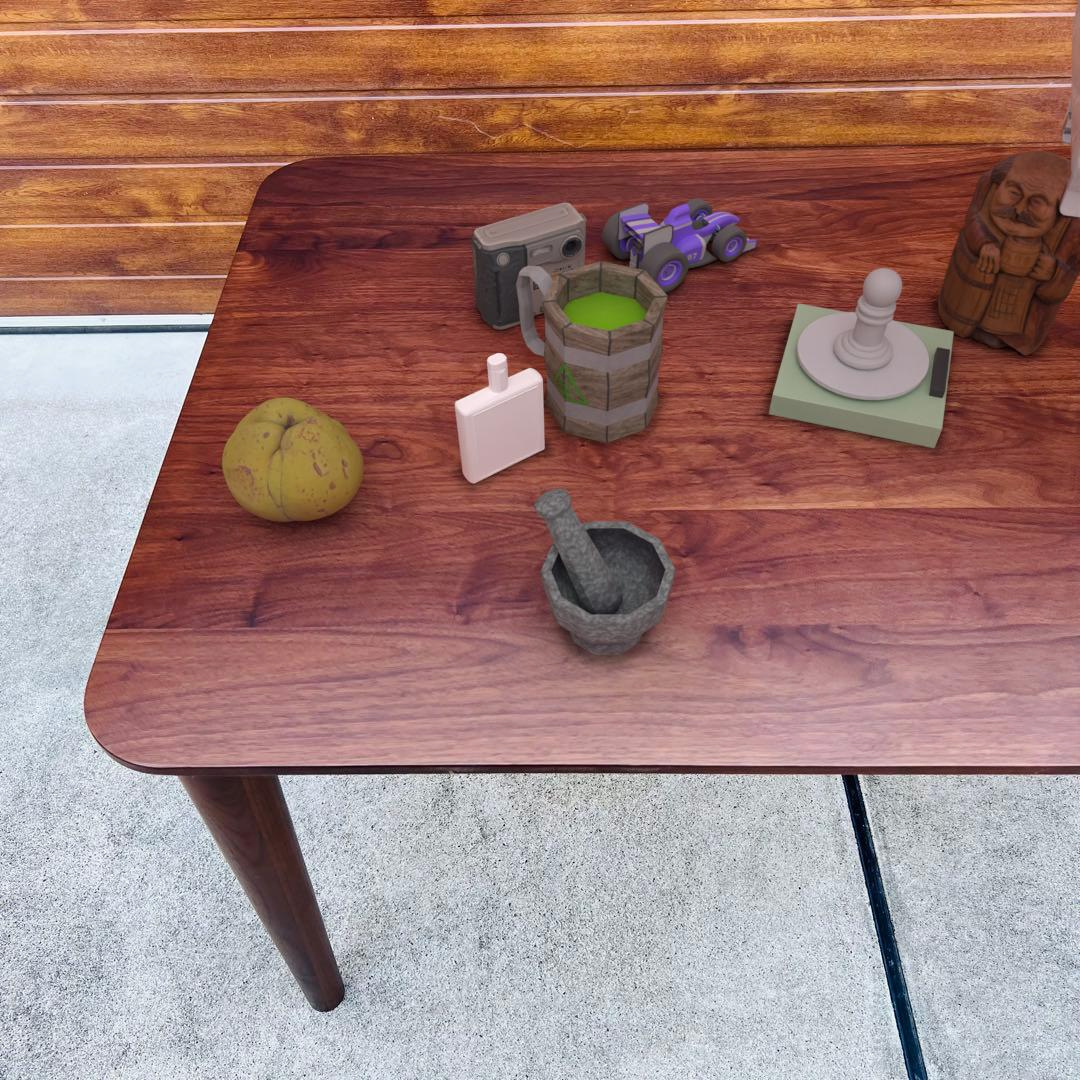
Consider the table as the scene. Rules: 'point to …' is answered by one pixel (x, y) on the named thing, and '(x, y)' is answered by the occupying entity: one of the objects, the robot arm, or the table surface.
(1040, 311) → the wooden figurine
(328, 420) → the fruit
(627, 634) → the mortar and pestle
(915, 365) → the scale
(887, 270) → the chess piece
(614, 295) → the mug
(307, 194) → the table surface
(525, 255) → the camera
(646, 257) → the toy race car
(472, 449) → the perfume bottle
